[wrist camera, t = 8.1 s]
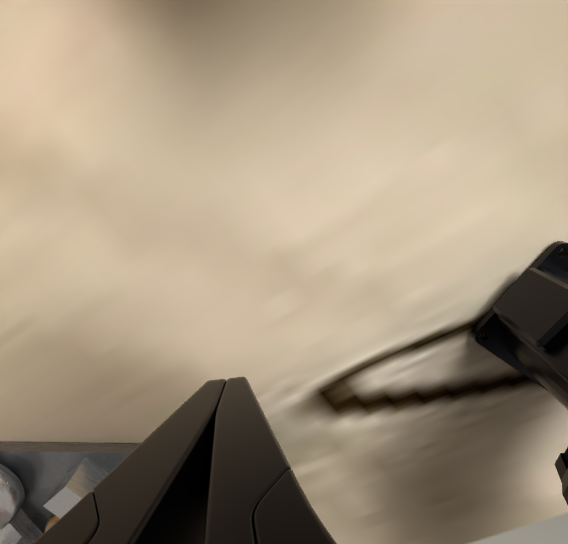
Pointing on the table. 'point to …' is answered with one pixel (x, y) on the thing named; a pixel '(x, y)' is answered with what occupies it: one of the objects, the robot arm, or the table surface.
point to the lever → (14, 511)
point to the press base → (59, 473)
